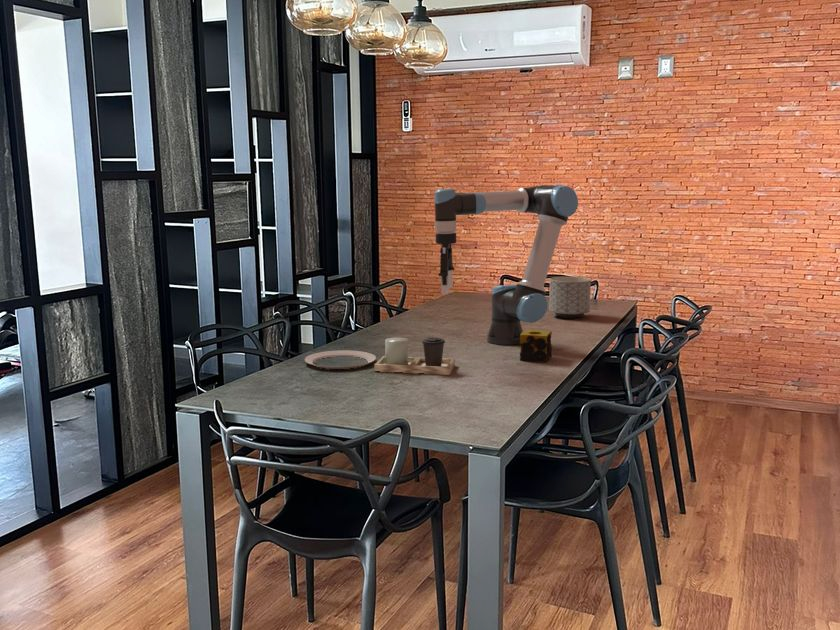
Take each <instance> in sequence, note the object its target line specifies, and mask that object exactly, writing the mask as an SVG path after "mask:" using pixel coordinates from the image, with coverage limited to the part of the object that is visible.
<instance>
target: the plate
mask: <svg viewBox="0 0 840 630" xmlns="http://www.w3.org/2000/svg"><path fill="white" fill-rule="evenodd" d="M336 356H353V357H352V358H355V357H360V358H359V359H361V358H364V359H366V360H367V361H368V363H367V361H366V360H365V361H366V363H362V364H357V365H347V366H346V365H345V366H327V365H317V364H315V362H317V361H316V360H318V359H320V360H323V359H322V358H325V359H328V358H327V357H331V358H337V357H336ZM364 359H363V360H364ZM376 360H377V356H376V355H375V354H374V353H370V352H366V351H361V350H349V349H346V350H344V349H343V350H341V349H339V350H338V349H337V350H328V351H326V350H325V351H321V352H315V353H312V354H309V355H307V356H306V357H305V358H304V362H305V363H306V364H309V365H312V366H314V367H315V366H316V368H318V367H320V368H319V369H322V368H325V369H324V370H330V369H345V370H351V369H350V368H354V369H358V368H357V367H359V368H362V367H361V366H363V367H365V366H367V365H369V364H371V363H372V362H375V361H376ZM314 361H315V362H314ZM318 361H319V360H318ZM313 362H314V364H313ZM366 364H367V365H366ZM364 365H365V366H364Z"/></svg>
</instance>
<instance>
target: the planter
mask: <svg viewBox="0 0 840 630" xmlns="http://www.w3.org/2000/svg"><path fill="white" fill-rule="evenodd" d="M591 283H592V282H591V278H588V277H584V276H554V277H550V278H549V294H548V295H549V297H548V298H549V299H548V311H549V312H552V313H553V314H555V315H556V316H558V317H560V318H562V317H565V318H564V319H577V318H576V317H578V318H579V317H581V316H583V315H585V314H588V313H590V310H591V288H592V287H591V285H592V284H591Z"/></svg>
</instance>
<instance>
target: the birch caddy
mask: <svg viewBox="0 0 840 630" xmlns="http://www.w3.org/2000/svg"><path fill="white" fill-rule="evenodd" d="M455 363H456V360H455V358H443V357H442V365H441V367H439V366H426V364H425V357H419V356H418V357H415V356H413V357H412V356H408V365H390V364H385V355H383V356H382V357H380V358H379V359H378V360H377V362H375V363H374V364H373V365H374V371H380V372H379V373H394V372H403V373H402V374H418V373H424V374H425V375H443V376H445V375H446V376H448V375H449V376H450V375H451V374H452V371H453V369H454V368H455V366H456V365H455ZM424 374H423V375H424Z"/></svg>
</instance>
